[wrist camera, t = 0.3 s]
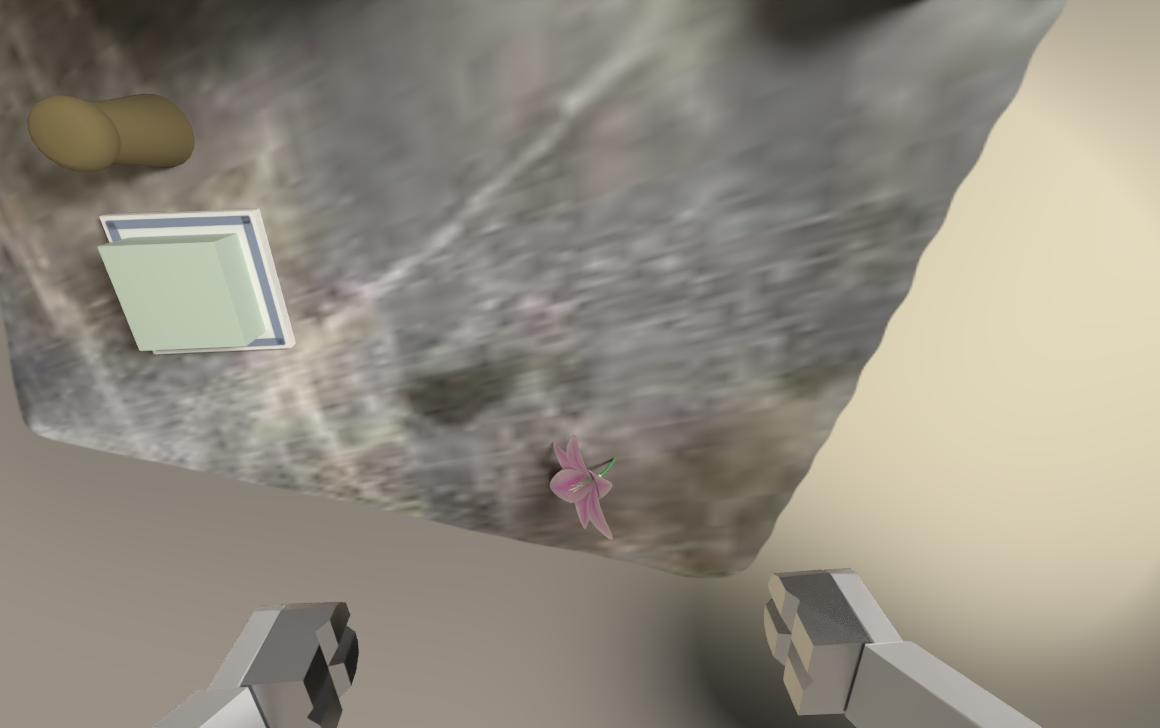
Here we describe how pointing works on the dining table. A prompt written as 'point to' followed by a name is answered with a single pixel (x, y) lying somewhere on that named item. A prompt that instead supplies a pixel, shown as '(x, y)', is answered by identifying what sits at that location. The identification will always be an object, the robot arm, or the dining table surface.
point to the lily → (581, 486)
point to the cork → (111, 132)
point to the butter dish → (196, 281)
